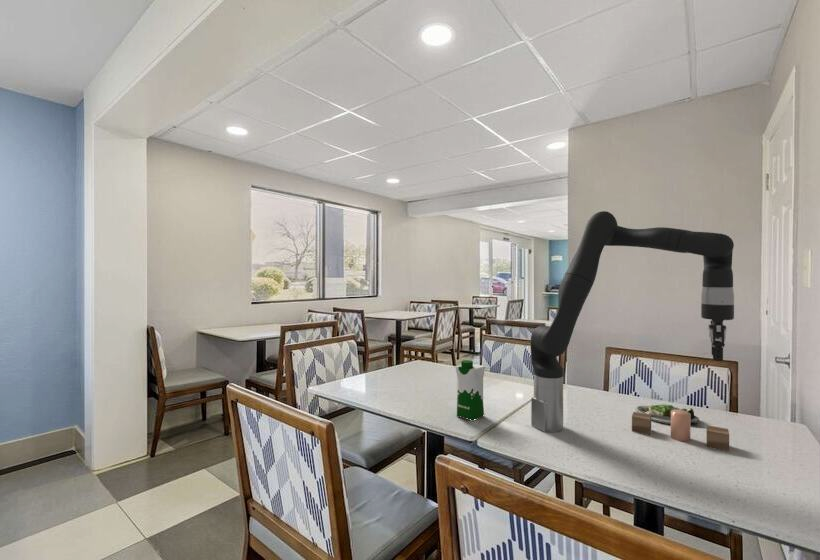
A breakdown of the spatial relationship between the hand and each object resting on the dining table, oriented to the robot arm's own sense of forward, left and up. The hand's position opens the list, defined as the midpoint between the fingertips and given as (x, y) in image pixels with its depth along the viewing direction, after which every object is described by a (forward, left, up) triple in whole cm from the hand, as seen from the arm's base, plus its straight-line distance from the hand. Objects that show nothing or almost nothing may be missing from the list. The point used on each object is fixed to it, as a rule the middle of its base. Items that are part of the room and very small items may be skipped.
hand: (717, 358), depth 114 cm
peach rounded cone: (-4, +8, -26) cm, 27 cm away
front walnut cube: (0, 0, -26) cm, 26 cm away
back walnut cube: (-9, +17, -26) cm, 32 cm away
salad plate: (+11, +21, -26) cm, 35 cm away
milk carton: (-52, +51, -26) cm, 77 cm away
